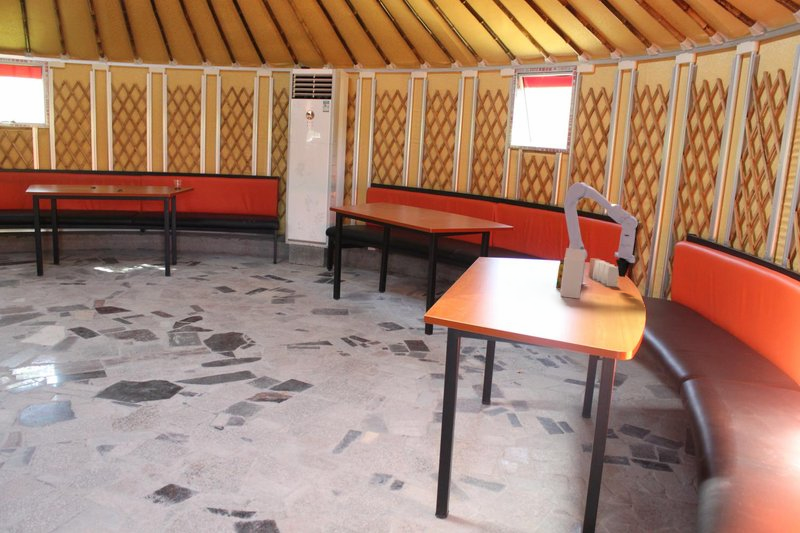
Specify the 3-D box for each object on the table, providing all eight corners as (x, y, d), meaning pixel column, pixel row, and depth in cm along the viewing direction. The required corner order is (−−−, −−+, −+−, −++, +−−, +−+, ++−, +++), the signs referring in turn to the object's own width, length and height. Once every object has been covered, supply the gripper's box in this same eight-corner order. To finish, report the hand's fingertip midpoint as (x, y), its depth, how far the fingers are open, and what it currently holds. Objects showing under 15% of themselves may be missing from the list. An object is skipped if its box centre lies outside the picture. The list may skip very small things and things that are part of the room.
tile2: (611, 284, 284) (614, 265, 282) (602, 283, 283) (605, 264, 282) (610, 283, 285) (613, 264, 284) (601, 282, 285) (604, 264, 283)
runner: (620, 288, 278) (620, 287, 278) (606, 287, 277) (606, 286, 277) (597, 277, 301) (597, 276, 301) (584, 276, 300) (584, 275, 300)
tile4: (602, 279, 293) (605, 261, 292) (593, 279, 293) (596, 260, 291) (601, 278, 295) (604, 260, 293) (592, 278, 294) (594, 260, 292)
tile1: (616, 286, 279) (619, 267, 278) (607, 285, 279) (610, 266, 277) (615, 285, 281) (618, 266, 279) (606, 285, 280) (608, 266, 278)
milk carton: (579, 298, 250) (585, 251, 247) (560, 296, 252) (566, 249, 248) (578, 295, 257) (584, 248, 254) (560, 293, 258) (565, 246, 255)
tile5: (598, 277, 298) (600, 259, 297) (589, 276, 297) (591, 258, 296) (597, 276, 299) (599, 258, 298) (588, 276, 299) (590, 258, 297)
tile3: (607, 281, 289) (609, 263, 287) (597, 281, 288) (600, 262, 287) (606, 281, 290) (608, 262, 288) (596, 280, 289) (599, 262, 288)
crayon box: (555, 287, 269) (559, 260, 266) (556, 286, 271) (559, 259, 269) (573, 290, 267) (577, 262, 264) (574, 288, 269) (577, 261, 267)
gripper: (643, 248, 262) (639, 280, 264) (627, 242, 276) (622, 273, 278) (627, 247, 261) (623, 279, 263) (611, 241, 275) (607, 272, 277)
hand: (621, 276), depth 271 cm, fingers closed
